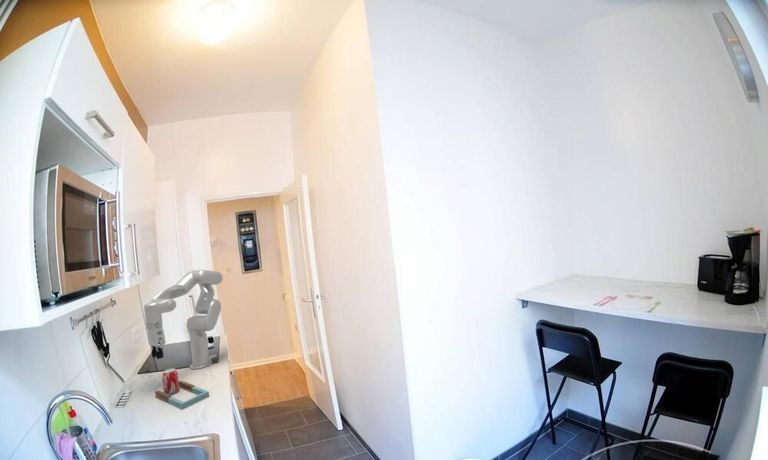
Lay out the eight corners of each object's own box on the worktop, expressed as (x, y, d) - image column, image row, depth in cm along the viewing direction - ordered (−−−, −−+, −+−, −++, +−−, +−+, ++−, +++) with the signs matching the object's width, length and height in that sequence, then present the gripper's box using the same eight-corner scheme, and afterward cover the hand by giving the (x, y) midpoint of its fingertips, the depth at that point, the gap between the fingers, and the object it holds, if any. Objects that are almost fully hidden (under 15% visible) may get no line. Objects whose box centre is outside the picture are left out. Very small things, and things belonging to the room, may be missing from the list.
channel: (181, 385, 193) (181, 380, 193) (195, 390, 185) (194, 385, 185) (155, 397, 182) (155, 391, 182) (168, 402, 174) (168, 397, 174)
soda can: (160, 395, 184) (158, 372, 183) (173, 388, 190) (170, 367, 190) (170, 396, 181) (168, 373, 181) (182, 389, 188) (180, 367, 188)
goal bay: (195, 390, 185) (194, 386, 185) (209, 396, 178) (208, 391, 178) (168, 402, 174) (168, 398, 174) (182, 409, 167) (181, 404, 167)
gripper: (169, 324, 190) (172, 357, 190) (154, 321, 199) (158, 352, 200) (153, 328, 184) (157, 362, 184) (139, 325, 193) (143, 357, 194)
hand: (157, 357), depth 192 cm, fingers open, 4 cm apart
